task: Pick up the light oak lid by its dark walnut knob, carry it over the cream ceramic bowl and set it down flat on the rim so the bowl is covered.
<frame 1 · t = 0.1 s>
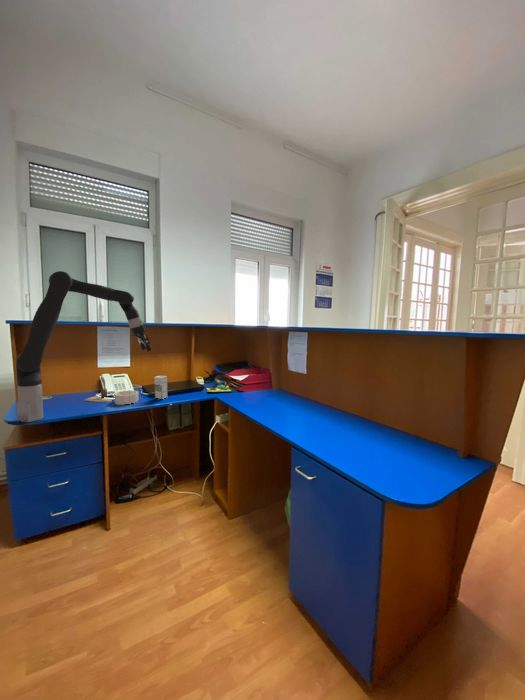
hand: (146, 350, 179), 31 cm above the table, tool tilted 20°, fingers open, 8 cm apart
cream bowl: (126, 401, 178), on the table
oak lid: (104, 399, 185), on the table
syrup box: (161, 398, 188), on the table
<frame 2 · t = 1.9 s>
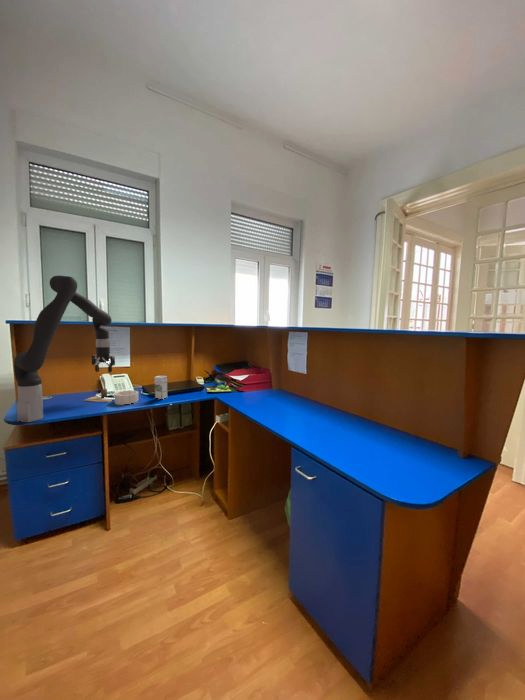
hand: (103, 371, 183), 17 cm above the table, tool pointing down, fingers open, 8 cm apart
nothing on the table moved.
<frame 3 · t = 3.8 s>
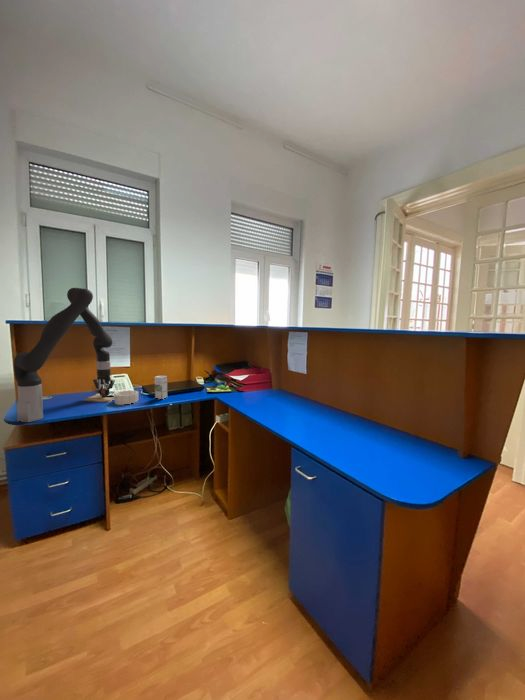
hand: (104, 395, 184), 2 cm above the table, tool pointing down, fingers closed on oak lid, 3 cm apart
oak lid: (104, 398, 185), on the table, touching gripper
everything else where it was.
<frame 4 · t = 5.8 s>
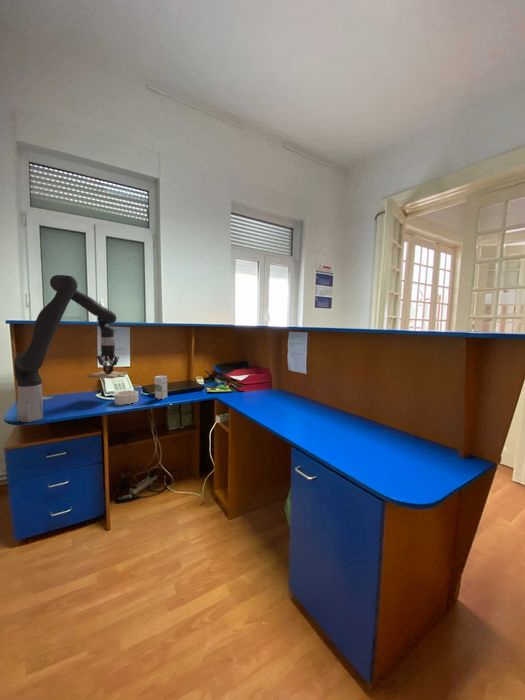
hand: (108, 372, 182), 17 cm above the table, tool pointing down, fingers closed on oak lid, 3 cm apart
oak lid: (108, 375, 182), point 15 cm above the table, touching gripper
everything else where it was.
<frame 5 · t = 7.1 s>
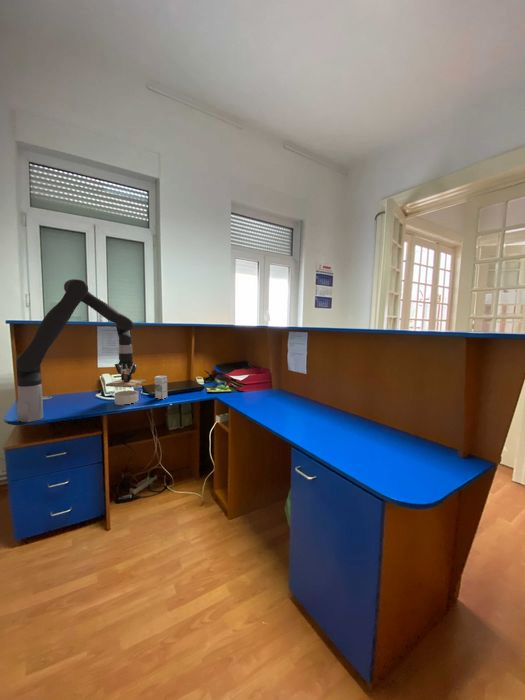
hand: (126, 380, 177), 13 cm above the table, tool pointing down, fingers closed on oak lid, 3 cm apart
oak lid: (126, 383, 177), point 11 cm above the table, touching gripper
everything else where it was.
when the fingers open (9 cm above the table, at t = 8.1 s): oak lid drops 1 cm, resting on cream bowl.
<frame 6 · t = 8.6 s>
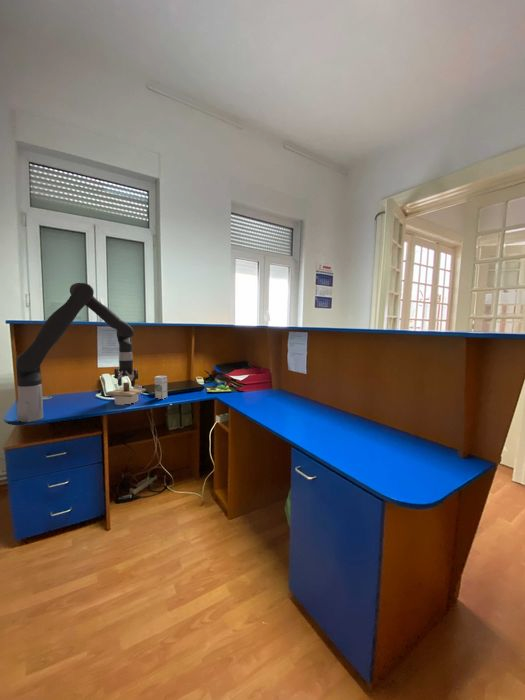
hand: (126, 386, 177), 10 cm above the table, tool pointing down, fingers open, 8 cm apart
oak lid: (126, 392, 178), point 5 cm above the table, touching cream bowl
everything else where it was.
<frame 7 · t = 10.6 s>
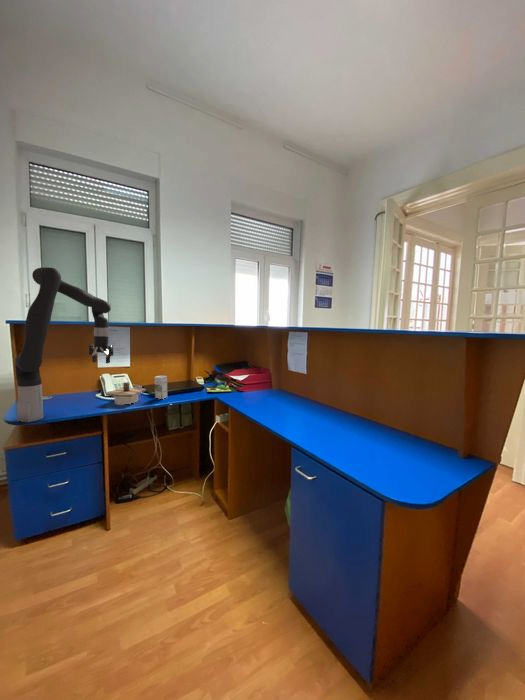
hand: (101, 362, 174), 24 cm above the table, tool pointing down, fingers open, 8 cm apart
nothing on the table moved.
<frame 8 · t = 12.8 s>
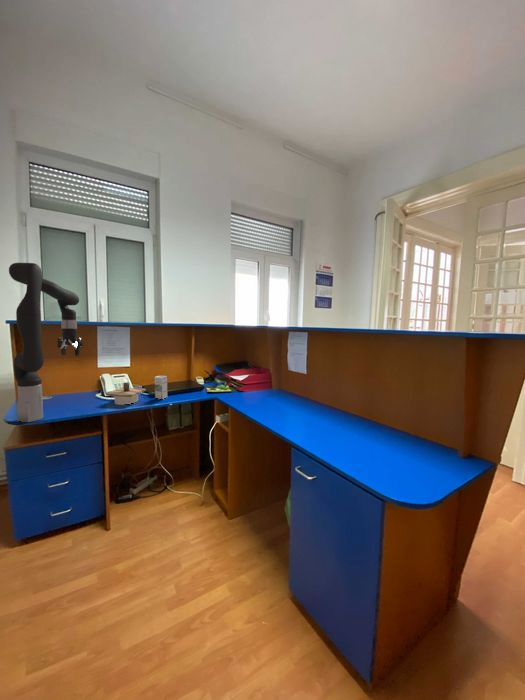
hand: (70, 355, 172), 28 cm above the table, tool pointing down, fingers open, 8 cm apart
nothing on the table moved.
at the end: oak lid 0.1 cm off-centre on the cream bowl, point 5.5 cm above the cream bowl's base; oak lid tilted 0°; the gripper is holding nothing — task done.
